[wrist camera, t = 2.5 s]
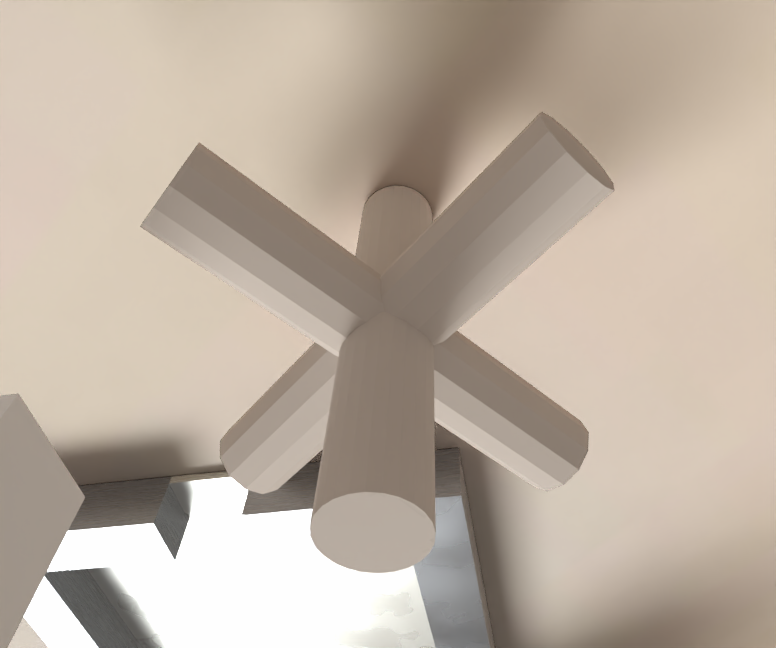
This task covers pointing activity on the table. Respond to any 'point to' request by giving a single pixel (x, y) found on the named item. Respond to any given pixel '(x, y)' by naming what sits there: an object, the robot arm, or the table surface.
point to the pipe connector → (389, 336)
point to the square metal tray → (251, 572)
